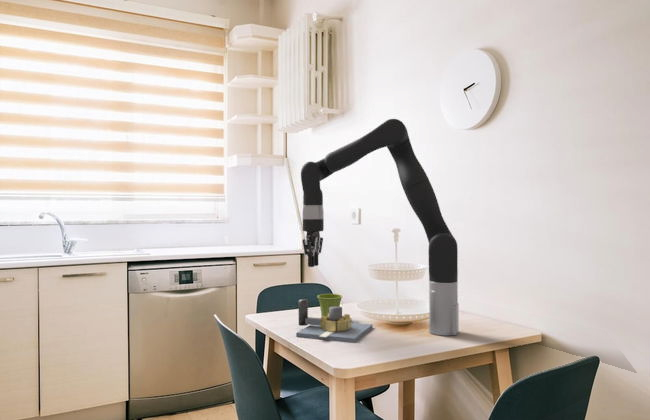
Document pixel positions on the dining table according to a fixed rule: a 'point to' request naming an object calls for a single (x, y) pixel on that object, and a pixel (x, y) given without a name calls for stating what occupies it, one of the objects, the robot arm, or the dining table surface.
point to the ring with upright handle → (322, 319)
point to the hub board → (348, 335)
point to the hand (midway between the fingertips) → (313, 266)
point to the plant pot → (328, 302)
